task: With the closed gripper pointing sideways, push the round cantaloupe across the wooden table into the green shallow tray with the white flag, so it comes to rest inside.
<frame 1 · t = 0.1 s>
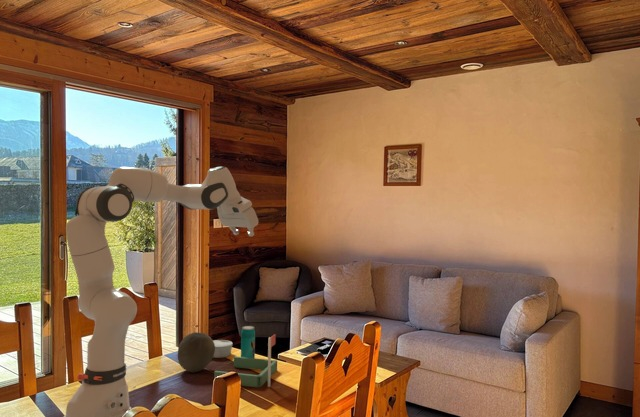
hand: (244, 235, 202), 54 cm above the table, tool tilted 30°, fingers open, 8 cm apart
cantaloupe: (195, 371, 200), on the table
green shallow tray: (245, 376, 195), on the table
beverage can: (247, 363, 211), on the table
ramekin: (219, 355, 221), on the table
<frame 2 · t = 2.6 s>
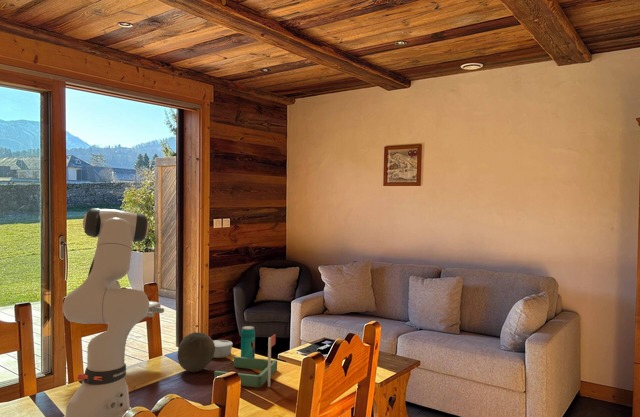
hand: (158, 312, 204), 22 cm above the table, tool horizontal, fingers open, 6 cm apart
nothing on the table moved.
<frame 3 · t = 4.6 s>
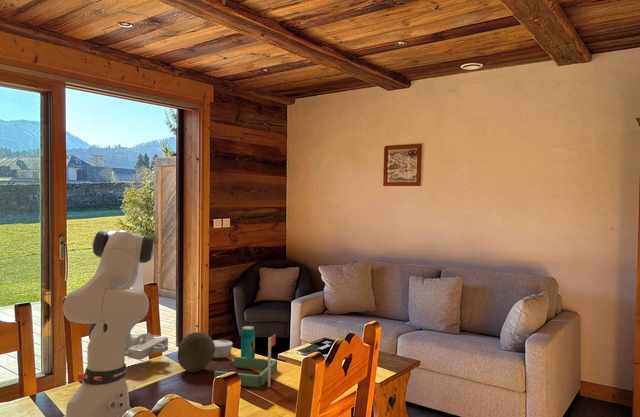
hand: (166, 349, 203), 7 cm above the table, tool horizontal, fingers closed
nothing on the table moved.
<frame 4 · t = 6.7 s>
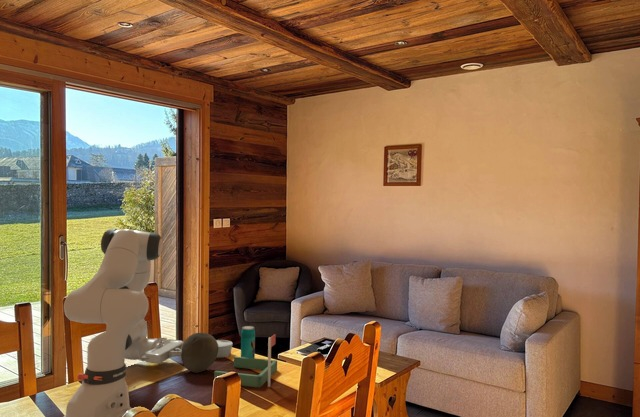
hand: (183, 353, 201), 6 cm above the table, tool horizontal, fingers closed, pressing on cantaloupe
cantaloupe: (199, 371, 200), on the table, touching gripper
everything else where it was.
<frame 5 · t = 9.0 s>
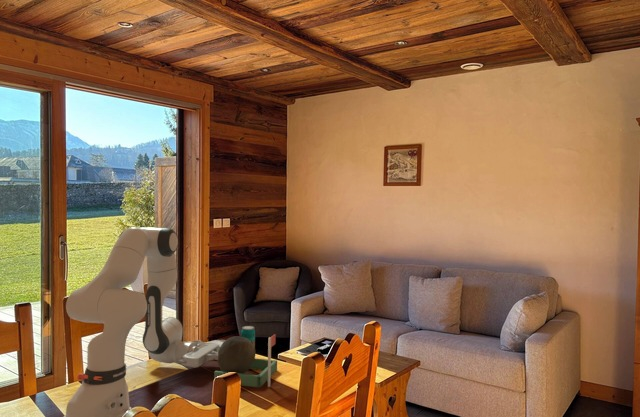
hand: (220, 356, 198), 7 cm above the table, tool horizontal, fingers closed
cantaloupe: (236, 376, 195), resting in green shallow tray, touching gripper
everything else where it was.
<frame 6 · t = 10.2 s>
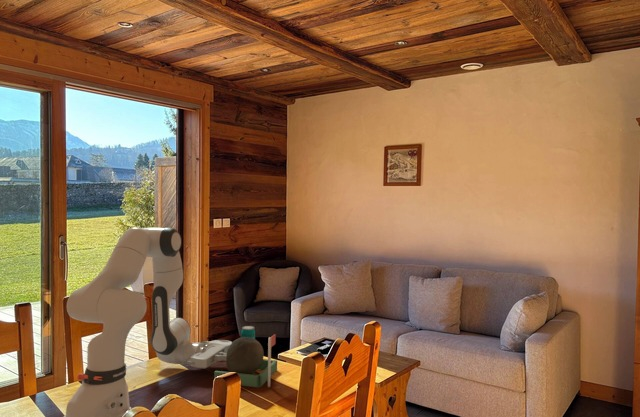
hand: (228, 357, 197), 7 cm above the table, tool horizontal, fingers closed
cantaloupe: (244, 377, 194), resting in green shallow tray, touching gripper
everything else where it was.
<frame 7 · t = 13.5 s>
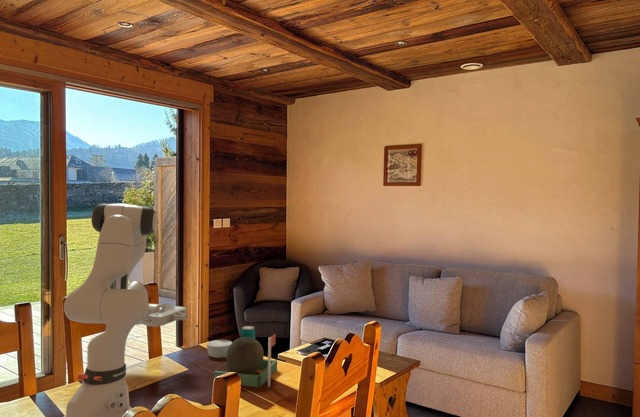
hand: (186, 317, 201), 21 cm above the table, tool horizontal, fingers closed
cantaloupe: (244, 377, 194), resting in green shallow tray
everything else where it was.
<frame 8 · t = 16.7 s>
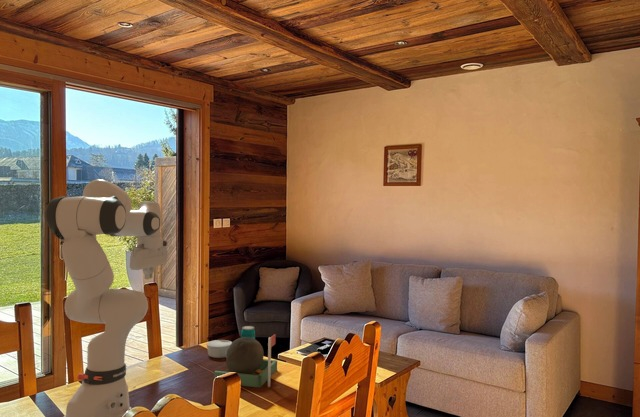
hand: (148, 278, 194), 37 cm above the table, tool pointing down, fingers closed
nothing on the table moved.
at the end: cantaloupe inside the target area on the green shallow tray (0.6 cm from its centre), point 0.0 cm above the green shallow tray's base; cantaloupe moved 20.9 cm from its start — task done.
